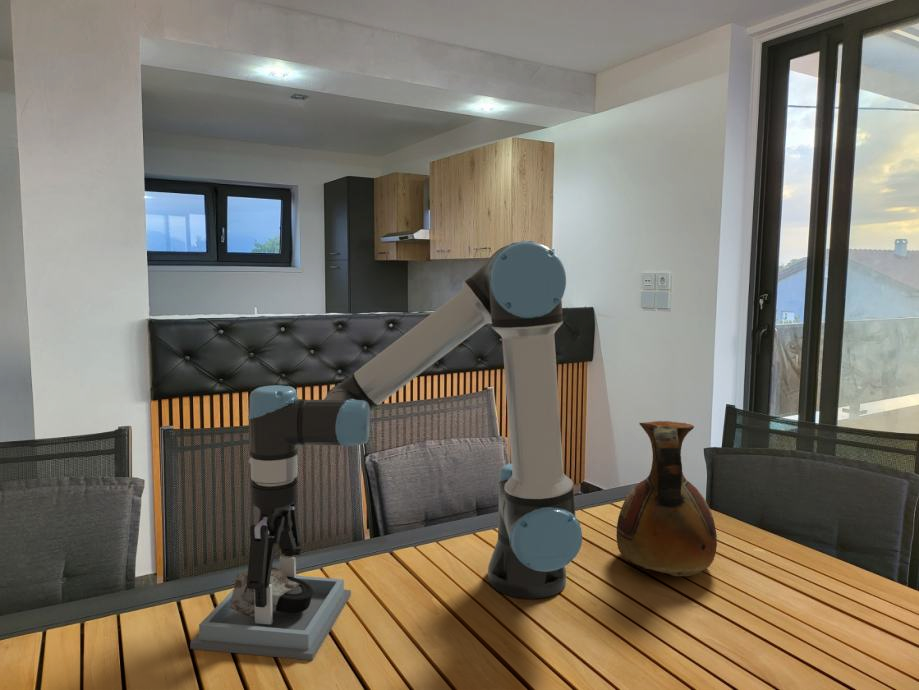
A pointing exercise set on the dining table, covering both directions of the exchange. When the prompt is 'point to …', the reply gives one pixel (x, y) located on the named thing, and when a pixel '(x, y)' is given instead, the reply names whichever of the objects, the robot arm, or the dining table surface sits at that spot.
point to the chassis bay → (276, 625)
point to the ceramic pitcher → (667, 511)
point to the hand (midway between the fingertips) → (276, 606)
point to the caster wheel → (285, 594)
